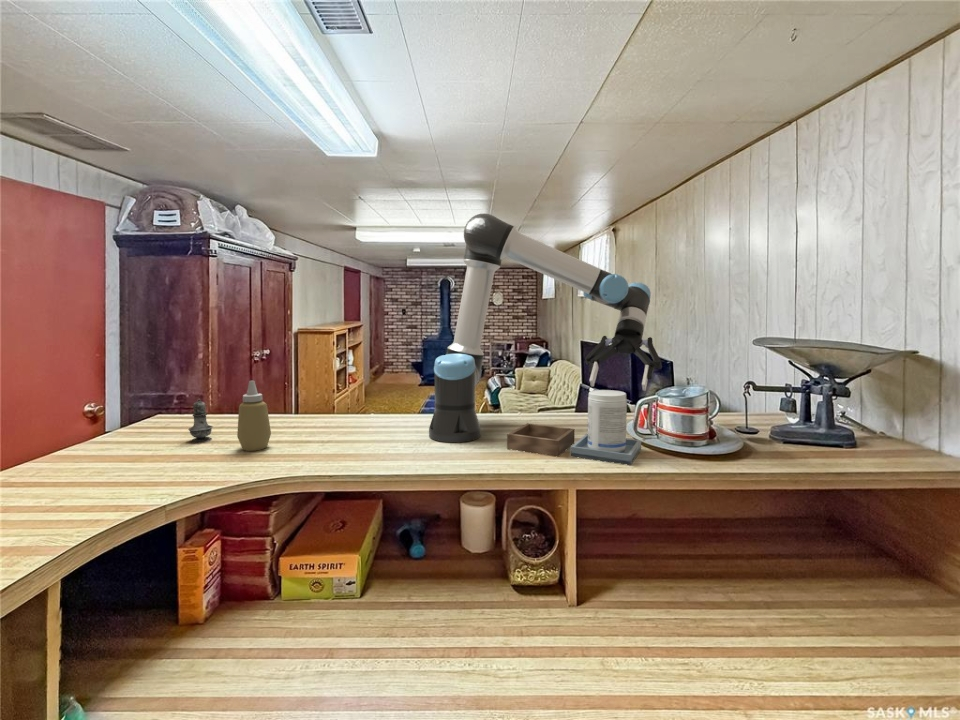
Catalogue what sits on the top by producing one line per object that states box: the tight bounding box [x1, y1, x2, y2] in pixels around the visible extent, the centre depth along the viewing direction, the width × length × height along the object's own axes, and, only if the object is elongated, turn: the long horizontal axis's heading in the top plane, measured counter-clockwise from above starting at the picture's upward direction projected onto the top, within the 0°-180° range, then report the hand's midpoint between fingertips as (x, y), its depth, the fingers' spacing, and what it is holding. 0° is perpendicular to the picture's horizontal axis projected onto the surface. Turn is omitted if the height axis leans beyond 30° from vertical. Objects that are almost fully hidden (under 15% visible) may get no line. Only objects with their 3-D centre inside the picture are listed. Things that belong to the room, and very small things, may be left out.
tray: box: [570, 433, 642, 466], centre depth 122 cm, size 15×15×2 cm
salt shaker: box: [187, 398, 214, 444], centre depth 132 cm, size 6×6×12 cm
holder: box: [506, 422, 576, 458], centre depth 128 cm, size 14×14×4 cm
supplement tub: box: [587, 389, 628, 452], centre depth 121 cm, size 10×10×15 cm
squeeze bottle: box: [236, 380, 272, 452], centre depth 125 cm, size 8×8×18 cm
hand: (616, 385), depth 126 cm, fingers open, 13 cm apart
